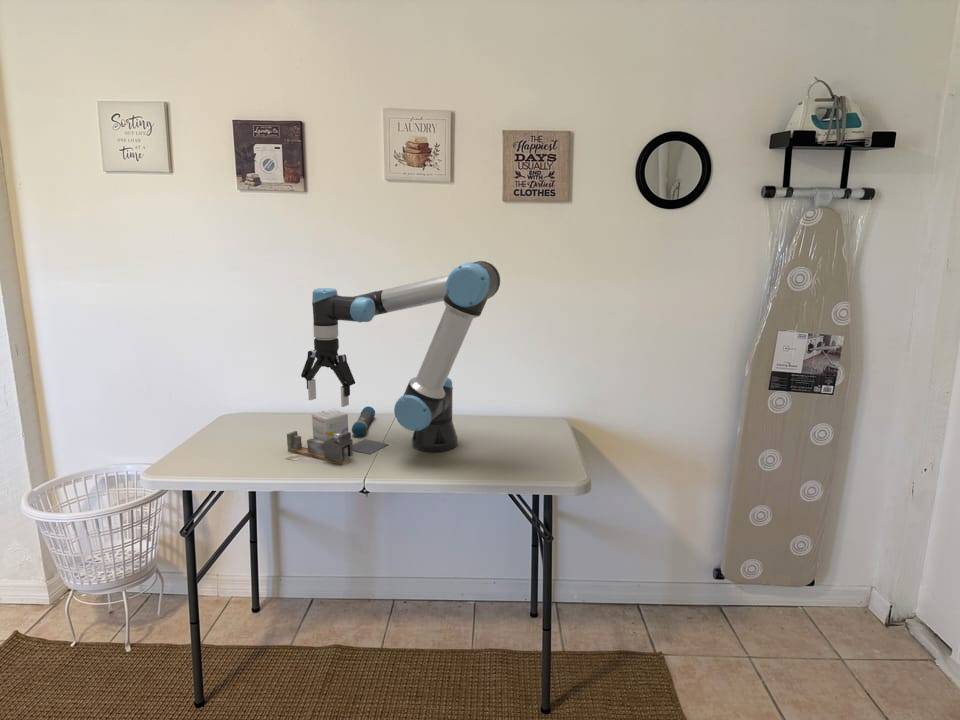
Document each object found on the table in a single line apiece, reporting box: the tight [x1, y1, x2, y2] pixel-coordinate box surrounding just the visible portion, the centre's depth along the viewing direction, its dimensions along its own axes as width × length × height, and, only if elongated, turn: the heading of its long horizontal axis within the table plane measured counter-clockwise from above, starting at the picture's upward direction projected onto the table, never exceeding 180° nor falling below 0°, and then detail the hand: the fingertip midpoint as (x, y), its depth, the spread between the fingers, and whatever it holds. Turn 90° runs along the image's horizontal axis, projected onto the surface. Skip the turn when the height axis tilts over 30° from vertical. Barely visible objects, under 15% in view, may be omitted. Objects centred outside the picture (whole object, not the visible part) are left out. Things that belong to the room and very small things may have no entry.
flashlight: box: [351, 405, 376, 438], centre depth 220 cm, size 5×22×5 cm, turn 0°
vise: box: [285, 430, 351, 466], centre depth 190 cm, size 22×8×6 cm, turn 62°
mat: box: [352, 438, 389, 455], centre depth 201 cm, size 10×10×1 cm
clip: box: [324, 431, 354, 462], centre depth 188 cm, size 6×6×8 cm
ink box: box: [311, 408, 349, 442], centre depth 199 cm, size 9×8×12 cm
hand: (328, 402), depth 197 cm, fingers open, 13 cm apart
